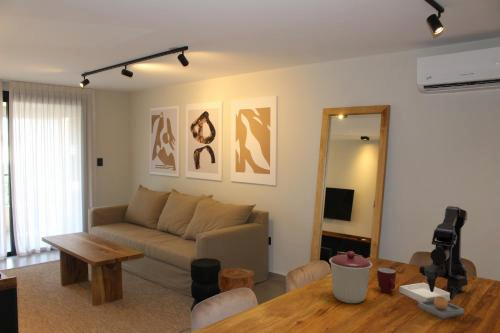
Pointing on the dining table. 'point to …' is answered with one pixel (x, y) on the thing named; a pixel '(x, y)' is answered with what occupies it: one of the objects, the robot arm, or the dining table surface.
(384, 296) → the dining table surface
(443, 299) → the ball
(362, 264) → the canister
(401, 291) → the dish
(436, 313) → the tray
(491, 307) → the dining table surface
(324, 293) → the dining table surface
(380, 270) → the mug
